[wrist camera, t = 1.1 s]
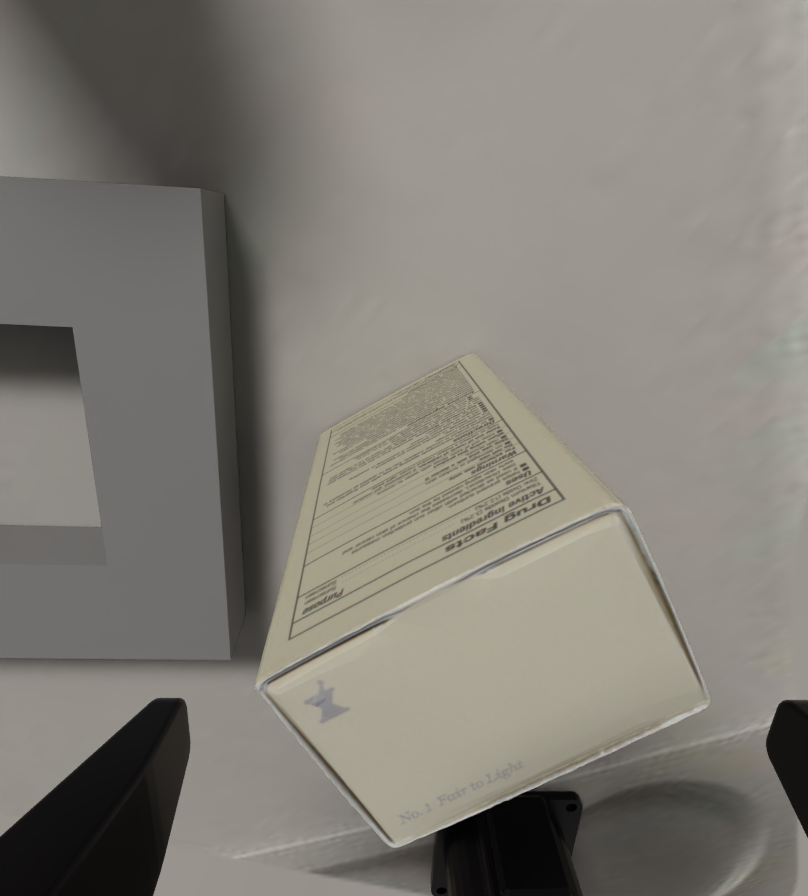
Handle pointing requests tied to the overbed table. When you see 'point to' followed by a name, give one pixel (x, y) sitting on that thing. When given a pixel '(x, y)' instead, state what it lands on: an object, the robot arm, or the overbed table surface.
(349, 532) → the skincare box
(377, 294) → the overbed table surface
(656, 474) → the overbed table surface
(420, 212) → the overbed table surface
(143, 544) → the socket holder
